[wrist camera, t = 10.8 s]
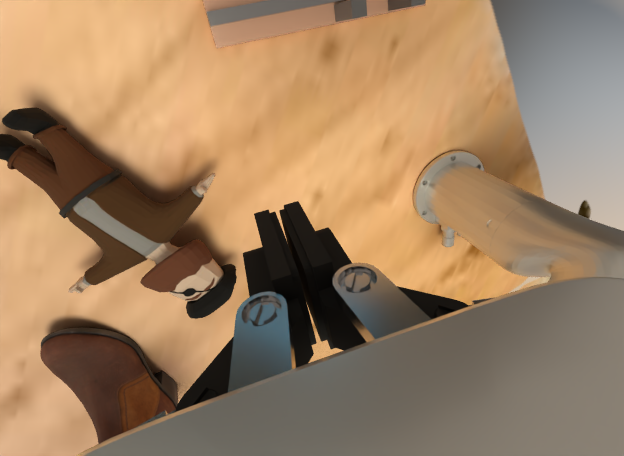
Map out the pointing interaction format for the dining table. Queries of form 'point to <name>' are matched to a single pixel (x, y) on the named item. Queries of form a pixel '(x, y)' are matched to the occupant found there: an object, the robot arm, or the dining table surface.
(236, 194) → the dining table surface
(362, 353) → the robot arm
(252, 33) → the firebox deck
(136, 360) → the boot
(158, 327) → the dining table surface
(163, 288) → the toy
